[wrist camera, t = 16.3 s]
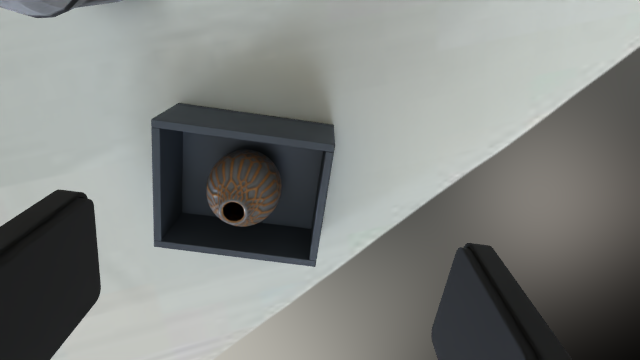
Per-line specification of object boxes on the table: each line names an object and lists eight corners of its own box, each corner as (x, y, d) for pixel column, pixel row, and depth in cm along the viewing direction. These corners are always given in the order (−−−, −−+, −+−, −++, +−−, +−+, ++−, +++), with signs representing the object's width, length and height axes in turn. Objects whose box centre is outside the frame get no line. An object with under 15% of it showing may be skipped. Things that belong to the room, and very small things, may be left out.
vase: (275, 135, 40) (262, 166, 32) (291, 197, 42) (283, 240, 34) (209, 148, 40) (179, 182, 32) (228, 208, 43) (206, 254, 35)
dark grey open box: (178, 102, 39) (151, 119, 33) (333, 124, 40) (335, 144, 34) (177, 214, 44) (153, 246, 38) (316, 232, 45) (315, 267, 39)
